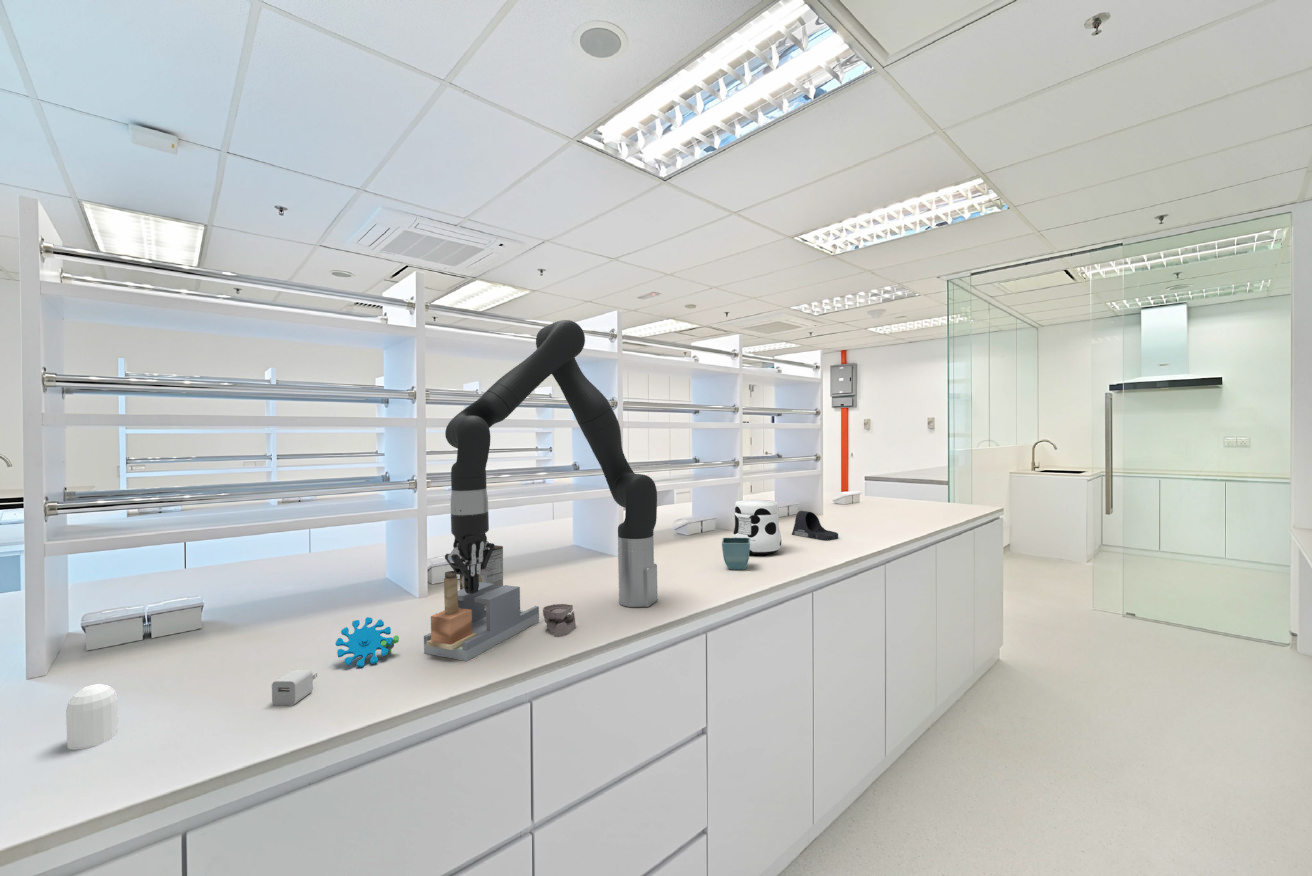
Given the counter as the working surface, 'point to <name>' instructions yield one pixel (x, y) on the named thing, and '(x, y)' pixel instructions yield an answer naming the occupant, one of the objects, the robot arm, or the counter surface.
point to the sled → (451, 619)
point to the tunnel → (489, 620)
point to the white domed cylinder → (92, 717)
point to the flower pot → (736, 552)
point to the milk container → (758, 525)
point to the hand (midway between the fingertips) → (471, 592)
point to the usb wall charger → (292, 687)
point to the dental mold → (559, 619)
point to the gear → (365, 642)
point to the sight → (811, 527)
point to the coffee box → (491, 570)
